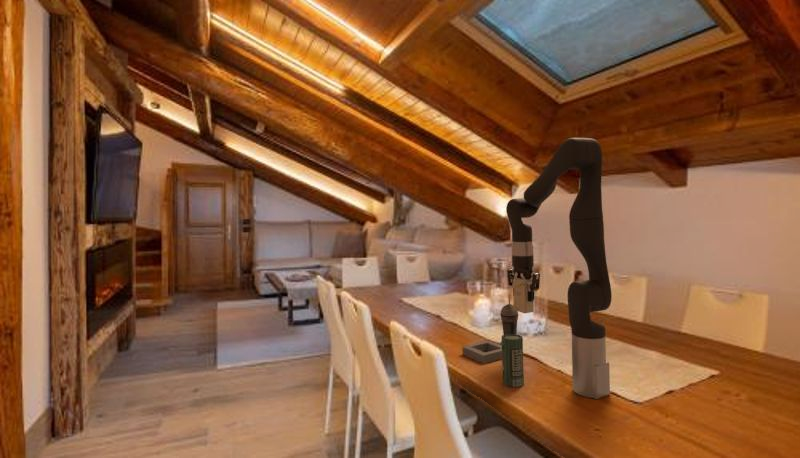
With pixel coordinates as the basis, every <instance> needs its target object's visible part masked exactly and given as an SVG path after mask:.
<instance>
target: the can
mask: <svg viewBox="0 0 800 458" xmlns="http://www.w3.org/2000/svg"><path fill="white" fill-rule="evenodd" d="M523 339H524V338H523V336H522V335H520V334H505V335H504V334H503V335H501V345H502V359H501V365H502V371H501V372H502V384H503V385H504V386H505V387H508V388H514V387H515V388H516V389H517V388H521V387H523V386H524V384H525V383H524V382H525V380H524V379H525V377H524V374H525V372H524V344H523V343H524V342H523V341H524V340H523Z"/></svg>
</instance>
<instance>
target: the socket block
mask: <svg viewBox="0 0 800 458" xmlns="http://www.w3.org/2000/svg"><path fill="white" fill-rule="evenodd" d="M462 355H464V356H465V357H467V358H470V359H472V360H474V361H477V362H478V363H481V364H482V365H485V364H488V363H492V362H497V361H499V360H502V344H499V343H498V342H497V343H496V342H495V341H494V342H493V341H491V340H484V341H480V342H476V343H473V344H467V345H464V346H462Z"/></svg>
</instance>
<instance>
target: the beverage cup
mask: <svg viewBox="0 0 800 458" xmlns="http://www.w3.org/2000/svg"><path fill="white" fill-rule="evenodd" d="M499 315H500V319H501V323H502V334H503V335H505V334H517V332H518V331H517V330H518V320H519V311H516V310H514V304H511V294H508V303H507V304H505V305H503V306H502V307H501V310H500V314H499ZM517 335H518V334H517Z"/></svg>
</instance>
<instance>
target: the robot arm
mask: <svg viewBox="0 0 800 458" xmlns="http://www.w3.org/2000/svg"><path fill="white" fill-rule="evenodd" d="M569 170H579V189H578V192H577V195H576V197H575V199H574V201H573V203H572V205H571V207H570V211H569V215H568V218H569V219H568V220H569V233H570V235H569V236H570V238H571V240H572V242H573V244H574V245H575V248H577V250H578V251H579V253H580V254H581V256H582V257H583V259H584V261H585V263H586V267H587V271H588V279H585V280H577V281H572V282H571V283H570V284H569V286H568V289H567V305H568V306H567V309H568V320H569V325H570V329H571V330H570V331H571V363H572V364H571V365H572V366H571V367H572V370H571V371H572V391H573V392H574V393H575V394H576V395H579V396H582V397H585V398H589V399H590V398H591V399H592V398H593V399H595V400H599V399H602V398H603V397H606V396H608V395H610V394H611V391H610V389H611V384H610V377H611V376H610V362H609V361H607V344H606V343H607V342H606V339H607V337H606V333H607V332H606V331H607V330H606V327H605V325H604V324H602V323H600V322H598V321H594V320H592V319H591V313H595V312H603V311H606V310H608V309H609V308H610V307H611V304H612V298H613V297H612V287H611V281H610V277H609V275H610V274H609V270H608V264H607V257H606V256H607V255H606V254H607V253H606V245H605V225H604V213H603V200H602V199H603V198H602V195H603V194H602V176H603V175H602V172H603V151H602V146H601V144H600V142H599V141H598V140H596V139H594V138H589V137H570V138H567V139H565V140H564V141H563V142H562V143H561V144H560V145H559V147H558V148H557V149H556V150H555V152H554V154H553V156H552V157H551V159H550V160H549V161H548V163H547V165H546V166H545V167H544V169H543V171H542V172H541V173H540V174H539V176H537V178H536V179H535V180H534V181H533V182H532V183H531V184H530V185H529V186H527V188H526V189H525V190H524V192H523V197H522V198H511V199H510V200H509V201H508V202H507V205H506V209H505V210H506V216H507V219H508V222H509V225H510V230H511V266H512V268H511V269H507V270H506V272H507V273H506V275H507V283H508V287H509V286H510V287H511V288H512V295H513V297H514V278H521V279H523V280H528V279H532V282H527V281H526V285H527V289H528V301H529V302H532V301H534V302H535V291H537V290H539V289H540V281H541V274H540V272H534V271H533V267H534V266H535V265H534V262H535V261H534V243H533V229H532V228H533V227H532V226H531V225H530V224H525V223H524V222H523V219H528V218H531V217H533V216H535V215H536V214H537V213H538V211H539V209H540V207H541V205H542V203H544V202H545V201H546V200H547V199H548V198H549V197H550V196H551V195H552V194H553V193H554V191H555V190H556V188H557V185H558V184H557V183H558V180H559V179H560V177H561V176H562V175H563V174H566V172H568V171H569ZM530 284H531V285H532V287H530Z"/></svg>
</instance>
